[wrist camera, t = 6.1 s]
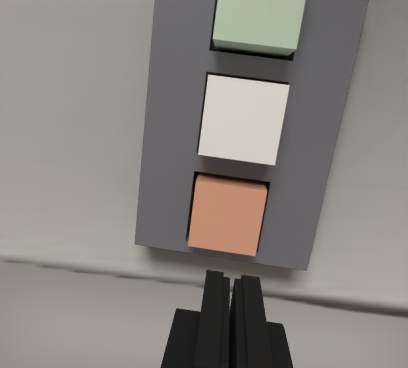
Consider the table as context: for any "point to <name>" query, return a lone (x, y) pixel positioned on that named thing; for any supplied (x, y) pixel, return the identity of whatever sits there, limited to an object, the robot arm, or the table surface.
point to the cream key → (242, 119)
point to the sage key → (258, 26)
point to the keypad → (271, 174)
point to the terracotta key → (227, 213)
